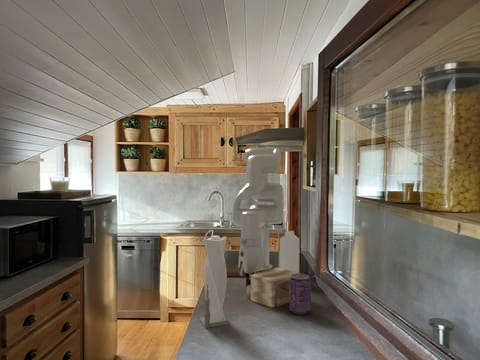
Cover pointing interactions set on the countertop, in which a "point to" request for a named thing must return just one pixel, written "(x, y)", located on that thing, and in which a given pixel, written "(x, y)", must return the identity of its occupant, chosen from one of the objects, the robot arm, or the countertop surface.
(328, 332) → the countertop surface
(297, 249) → the milk
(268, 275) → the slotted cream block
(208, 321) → the skyscraper
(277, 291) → the tile
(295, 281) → the beverage can
